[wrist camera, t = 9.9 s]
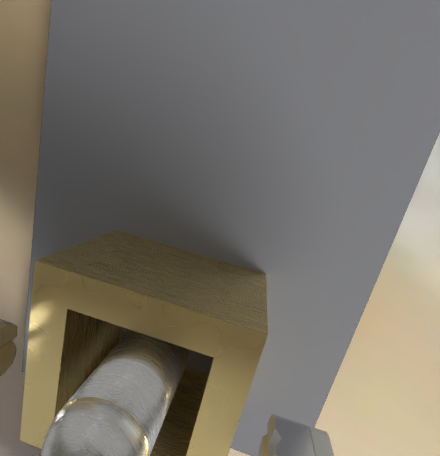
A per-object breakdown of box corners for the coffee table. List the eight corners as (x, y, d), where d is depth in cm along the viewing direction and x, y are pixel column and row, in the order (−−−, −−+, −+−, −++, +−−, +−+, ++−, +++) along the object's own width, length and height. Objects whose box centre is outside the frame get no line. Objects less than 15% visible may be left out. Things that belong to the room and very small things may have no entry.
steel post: (153, 287, 11) (12, 432, 5) (206, 304, 11) (131, 479, 5) (143, 335, 12) (6, 520, 6) (194, 352, 12) (111, 566, 5)
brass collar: (115, 229, 11) (34, 260, 7) (266, 273, 10) (267, 334, 6) (95, 357, 12) (19, 440, 9) (225, 403, 12) (207, 514, 8)
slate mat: (86, -53, 10) (58, -89, 9) (463, 15, 9) (501, -15, 8) (45, 352, 15) (22, 371, 13) (292, 439, 13) (295, 471, 12)
